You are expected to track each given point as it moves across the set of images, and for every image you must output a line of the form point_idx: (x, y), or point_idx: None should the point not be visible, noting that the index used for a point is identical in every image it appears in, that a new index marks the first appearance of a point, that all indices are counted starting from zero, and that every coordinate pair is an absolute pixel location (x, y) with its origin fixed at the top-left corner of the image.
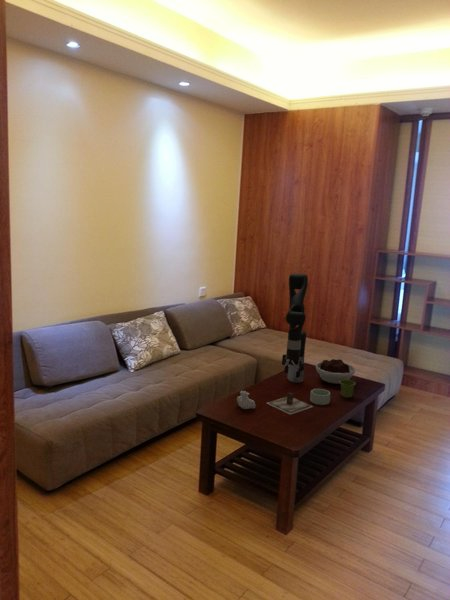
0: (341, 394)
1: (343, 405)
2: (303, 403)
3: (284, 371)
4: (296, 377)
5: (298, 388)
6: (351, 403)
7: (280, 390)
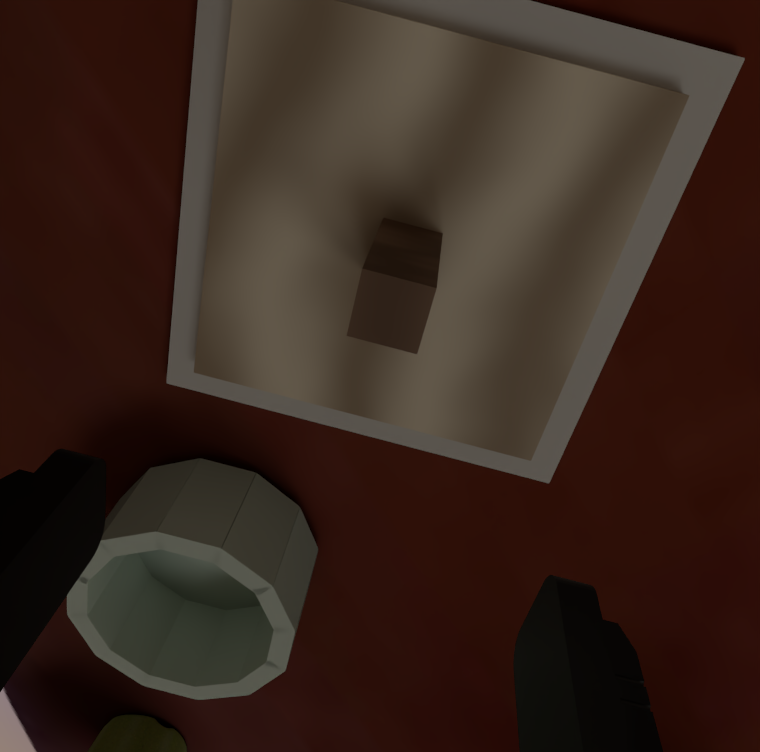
0: (170, 738)
1: None
2: (273, 366)
3: (622, 636)
4: (78, 453)
5: None
6: None
7: (718, 577)
